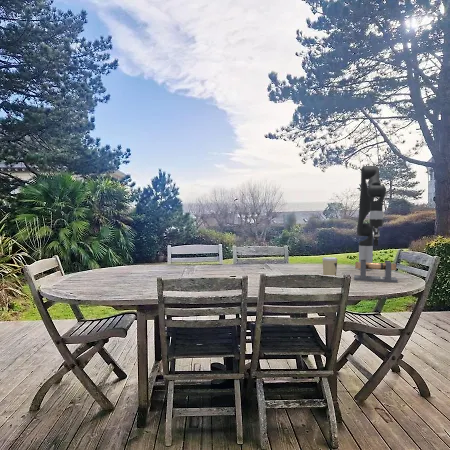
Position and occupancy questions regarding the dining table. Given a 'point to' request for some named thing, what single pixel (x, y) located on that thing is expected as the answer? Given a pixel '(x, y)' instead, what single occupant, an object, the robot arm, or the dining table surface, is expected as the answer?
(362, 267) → the grey u-shaped frame
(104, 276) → the dining table surface
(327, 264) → the coffee cup
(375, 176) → the robot arm
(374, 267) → the copper tube
